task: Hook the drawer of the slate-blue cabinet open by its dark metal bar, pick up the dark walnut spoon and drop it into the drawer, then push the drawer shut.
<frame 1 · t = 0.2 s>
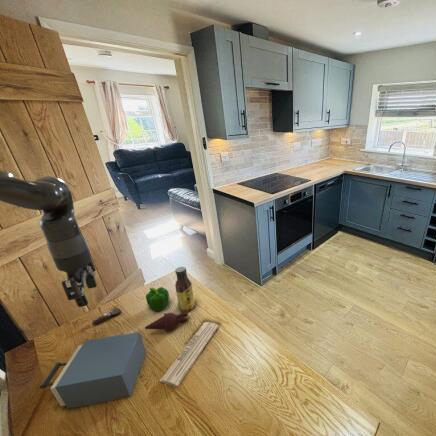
hand: (88, 296, 72), 26 cm above the table, tool pointing down, fingers open, 8 cm apart
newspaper: (192, 351, 84), on the table
cabinet: (111, 377, 75), on the table
sauce bottle: (187, 308, 103), on the table
beetroot: (169, 328, 93), on the table
drawer: (88, 370, 72), point 5 cm above the table, slide at 0.5 cm
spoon: (108, 317, 97), on the table
bell pepper: (160, 307, 103), on the table
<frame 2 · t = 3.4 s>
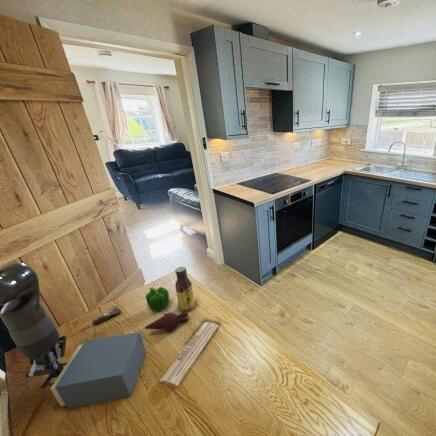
hand: (59, 374, 71), 5 cm above the table, tool pointing down, fingers closed
drawer: (88, 370, 72), point 5 cm above the table, slide at 0.5 cm, touching gripper
everything else where it was.
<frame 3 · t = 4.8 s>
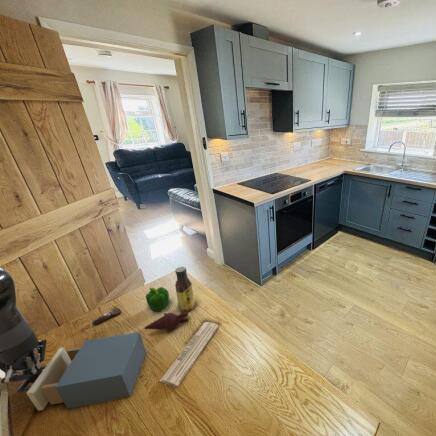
hand: (38, 379, 70), 5 cm above the table, tool pointing down, fingers closed
drawer: (68, 374, 71), point 5 cm above the table, slide at 5.8 cm, touching gripper
everything else where it was.
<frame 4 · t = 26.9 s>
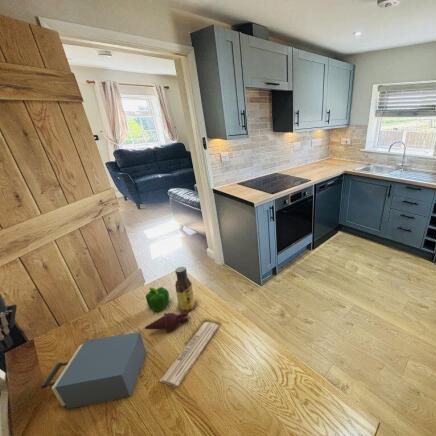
hand: (6, 347, 63), 19 cm above the table, tool pointing down, fingers closed
drawer: (89, 370, 72), point 5 cm above the table, slide at 0.2 cm, touching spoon
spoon: (90, 375, 74), point 2 cm above the table, touching drawer
everything else where it was.
at the end: drawer pulled out 8.4 cm at the most during the clip, back to 0.2 cm at the end; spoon inside the target area in the cabinet (4.8 cm from its centre), point 2.1 cm above the cabinet's base; drawer slide at 0.2 cm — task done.
